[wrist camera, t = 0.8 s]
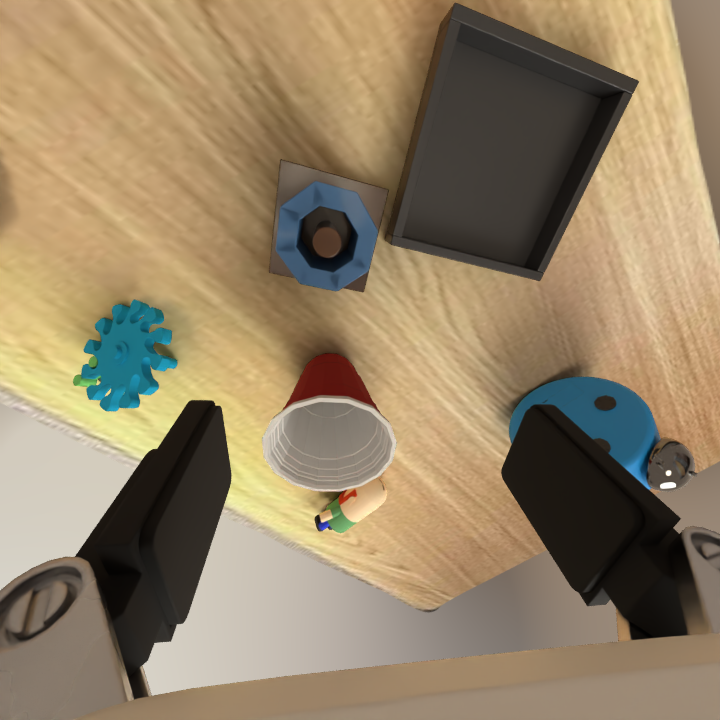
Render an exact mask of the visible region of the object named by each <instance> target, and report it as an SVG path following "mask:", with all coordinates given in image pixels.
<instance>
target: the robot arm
mask: <svg viewBox="0 0 720 720" xmlns="http://www.w3.org/2000/svg"><path fill="white" fill-rule="evenodd" d="M501 473H502V478H503V480H504V482H505V483H506V485H507V487H508V488H509V490H510V491H511V493H512V494H513V496H514V498H515V499H516V501H517V502H518V504H519V505H520V507H521V509H522V510H523V512H524V513H525V515H526V516H527V518H528V520H529V521H530V523H531V524H532V526H533V528H534V529H535V531H536V532H537V534H538V535H539V537H540V539H541V540H542V542H543V543H544V545H545V546H546V548H547V550H548V551H549V552H550V554H551V556H552V557H553V559H554V560H555V562H556V564H557V565H558V567H559V568H560V570H561V572H562V573H563V575H564V576H565V578H566V579H567V581H568V582H569V584H570V586H571V587H572V588H573V589H574V590H575V591H577V592H579V594H580V595H581V597H582V599H583V600H584V602H585V603H586V605H587V606H594V605H605V604H607V603H608V601H609V600H610V599H611V601H612V602H613V603H614V605H615V606H616V616H617V629H618V642H609V643H599V644H588V645H578V646H568V647H558V648H548V649H539V650H528V651H518V652H509V653H499V654H489V655H479V656H470V657H461V658H451V659H441V660H431V661H421V662H412V663H403V664H394V665H385V666H375V667H366V668H357V669H348V670H339V671H330V672H321V673H311V674H302V675H292V676H284V677H276V678H268V679H261V680H253V681H245V682H237V683H230V684H222V685H215V686H207V687H200V688H191V689H186V690H181V691H176V692H170V693H165V694H159V695H154V696H152V695H151V692H150V689H149V685H148V682H147V679H146V676H145V672H144V669H143V666H142V665H143V664H144V663H145V662H147V661H148V658H149V656H150V653H151V650H152V648H153V645H154V643H157V642H169V641H171V640H172V637H173V634H174V631H175V628H176V625H177V624H182V623H184V621H185V620H186V618H187V615H188V613H189V610H190V607H191V604H192V601H193V598H194V595H195V592H196V588H197V586H198V583H199V580H200V576H201V573H202V570H203V567H204V564H205V561H206V558H207V555H208V552H209V549H210V546H211V543H212V540H213V537H214V534H215V531H216V528H217V525H218V522H219V519H220V515H221V512H222V509H223V506H224V503H225V500H226V497H227V494H228V491H229V488H230V484H231V468H230V461H229V454H228V448H227V441H226V434H225V427H224V421H223V414H222V408H221V406H215V403H214V401H208V400H191V401H189V402H188V404H187V405H186V407H185V408H184V410H183V411H182V413H181V414H180V416H179V417H178V419H177V420H176V422H175V423H174V425H173V426H172V428H171V429H170V431H169V432H168V434H167V435H166V437H165V438H164V440H163V441H162V443H161V444H160V446H159V447H158V449H153V450H151V451H149V452H148V453H147V454H146V455H145V457H144V458H143V460H142V461H141V462H140V464H139V465H138V467H137V468H136V470H135V471H134V473H133V474H132V475H131V477H130V478H129V480H128V481H127V483H126V484H125V485H124V487H123V488H122V490H121V491H120V493H119V494H118V496H117V497H116V499H115V500H114V502H113V503H112V504H111V506H110V507H109V508H108V510H107V511H106V513H105V514H104V516H103V517H102V519H101V520H100V522H99V523H98V524H97V526H96V527H95V529H94V530H93V531H92V533H91V534H90V536H89V537H88V539H87V540H86V542H85V543H84V544H83V546H82V547H81V549H80V550H79V552H78V553H77V554H76V556H75V557H63V558H58V559H54V560H50V561H47V562H45V563H43V564H40V565H38V566H36V567H34V568H31V569H30V570H28V571H27V572H25V573H23V574H22V575H20V576H18V577H17V578H15V579H14V580H13V581H11V582H10V583H9V584H8V585H6V586H5V587H4V588H3V589H1V590H0V720H720V534H718V533H716V532H714V531H711V530H708V529H705V528H702V527H695V526H690V527H686V528H685V529H684V530H683V531H682V532H681V533H680V534H679V533H678V532H677V531H676V530H675V529H673V527H674V526H675V525H676V524H677V523H678V522H679V520H680V517H679V516H677V515H676V514H675V513H674V512H673V511H672V510H671V509H670V508H669V507H667V506H666V505H665V504H664V503H663V502H662V501H661V500H660V499H658V498H657V497H656V496H655V495H654V494H653V493H652V492H651V491H650V490H649V489H647V488H646V487H645V486H644V485H643V484H642V483H641V482H640V481H639V480H637V479H636V478H635V477H634V476H633V475H632V474H631V473H630V472H629V471H627V470H626V469H625V468H624V467H623V466H622V465H621V464H620V463H619V462H617V461H616V460H615V459H614V458H613V457H612V456H611V455H610V454H609V453H607V452H606V451H605V450H604V449H603V448H602V447H601V446H600V445H599V444H597V443H596V442H595V441H594V440H593V439H592V438H591V437H590V436H589V435H587V434H586V433H585V432H584V431H583V430H582V429H581V428H580V427H579V426H577V425H576V424H575V423H574V422H573V421H572V420H571V419H570V418H569V417H567V416H566V415H565V414H564V413H563V412H562V411H561V410H560V409H559V408H557V407H556V406H555V405H551V404H534V405H532V406H531V407H530V408H529V409H528V410H526V412H525V414H524V416H523V419H522V421H521V423H520V426H519V428H518V431H517V433H516V436H515V438H514V440H513V443H512V445H511V448H510V450H509V453H508V455H507V457H506V460H505V462H504V465H503V467H502V472H501Z"/></svg>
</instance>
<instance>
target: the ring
mask: <svg viewBox="0 0 720 720" xmlns="http://www.w3.org/2000/svg"><path fill="white" fill-rule="evenodd" d="M319 206H322V207H326V208H330V209H334V210H338V211H342V212H343V214H344V215H345V217H346V219H347V221H348V222H349V224H350V226H351V228H352V231H351V235H350V240H349V245H348V249H347V250H345V251H344V252H342V253H341V254H339V255H338V256H336V257H335V258H333V259H328V258H323V257H319V256H314V255H312V253H311V252H310V250H309V249H308V247H307V246H306V244H305V243H304V241H303V240H302V238H301V234H302V227H303V220H304V217H305V216H307V215H308V214H310V213H311V212H312V211H314V210H315V209H317V208H318V207H319ZM377 235H378V230H377V228H376V226H375V224H374V222H373V220H372V218H371V217H370V215H369V213H368V211H367V209H366V207H365V206H364V204H363V202H362V200H361V198H360V196H359V194H358V193H357V192H354V191H351V190H347V189H343V188H340V187H336V186H332V185H329V184H325V183H321V182H318V181H315V182H313V183H311V184H310V185H309V186H307V187H306V188H305V189H303V190H302V191H301V192H299V193H298V194H296V195H295V196H294V197H292V198H291V199H290V200H288V201H287V202H286V203H284V204H283V205H281V207H280V212H279V221H278V231H277V240H276V252H277V253H278V254H279V256H280V257H281V259H282V260H283V261H284V263H285V264H286V265H287V267H288V268H289V270H290V271H291V272H292V274H293V275H294V276H295V278H296V279H297V281H298V282H299V283H300V284H303V285H308V286H313V287H318V288H323V289H328V290H332V291H339V290H340V289H342V288H343V287H345V286H346V285H348V284H349V283H351V282H352V281H354V280H356V279H357V278H359V277H360V276H362V275H363V274H365V273H366V272H368V270H369V267H370V263H371V259H372V255H373V251H374V247H375V243H376V239H377Z"/></svg>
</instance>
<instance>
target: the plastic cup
mask: <svg viewBox="0 0 720 720" xmlns="http://www.w3.org/2000/svg"><path fill="white" fill-rule="evenodd" d="M262 444H263V455H264V458H265V460H266V461H267V463H268V464H269V465H270V467H271V468H272V470H273V471H274V473H275V474H277V475H278V476H280V477H282V478H283V479H285V480H286V481H288V482H289V483H291V484H292V485H295V486H299V487H302V488H306V489H310V490H313V491H338V492H339V491H343V490H347V489H352V488H356V487H360V486H363V485H364V484H366V483H368V482H370V481H372V480H373V479H375V478H377V477H379V476H380V475H381V474H382V473H383V472H384V470H385V469H386V468H387V467H388V466H389V465H390V463H391V462H392V461H393V457H394V453H395V449H396V444H397V442H396V439H395V436H394V433H393V430H392V427H391V424H390V423H389V421H388V420H387V419H386V418H385V417H384V416H383V415H382V414H381V413H380V411H379V410H378V409H377V407H376V404H375V403H374V402H373V401H372V399H371V397H370V395H369V393H368V391H367V389H366V387H365V385H364V383H363V381H362V379H361V377H360V376H359V375H358V374H357V372H356V370H355V368H354V366H353V365H352V364H351V363H350V362H349V361H348V360H347V359H346V358H345V357H343V356H340V355H338V354H332V353H325V354H322V355H319V356H316V357H315V358H314V359H312V360H311V361H310V362H309V363H308V364H307V365H306V367H305V369H304V371H303V373H302V375H301V377H300V379H299V381H298V383H297V385H296V387H295V389H294V391H293V393H292V395H291V397H290V399H289V401H288V402H287V404H286V406H285V407H284V408H283V410H282V411H281V412H280V413H278V414H277V415H276V416H274V417H273V419H272V420H271V422H270V424H269V426H268V428H267V430H266V432H265V434H264V435H263V437H262Z"/></svg>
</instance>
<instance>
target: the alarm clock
mask: <svg viewBox="0 0 720 720" xmlns="http://www.w3.org/2000/svg"><path fill="white" fill-rule="evenodd" d="M534 404H551V405H555V406H556V407H557V408H559V409H560V410H561V411H562V412H563V413H564V414H565V415H566V416H567V417H569V418H570V419H571V420H572V421H573V422H574V423H575V424H576V425H577V426H579V427H580V428H581V429H582V430H583V431H584V432H585V433H586V434H587V435H589V436H590V437H591V438H592V439H593V440H594V441H595V442H596V443H597V444H599V445H600V446H601V447H602V448H603V449H604V450H605V451H606V452H607V453H609V454H610V455H611V456H612V457H613V458H614V459H615V460H616V461H617V462H619V463H620V464H621V465H622V466H623V467H624V468H625V469H626V470H627V471H629V472H630V473H631V474H632V475H633V476H634V477H635V478H636V479H637V480H639V481H640V482H641V483H642V484H643V485H644V486H645V487H646V488H647V489H649V490H650V489H651V488H653V489H655V490H659V491H665V492H670V491H676V490H679V489H681V488H683V487H685V486H686V485H687V484H688V483H689V482H690V481H691V479H692V477H693V476H697V473H695V472H694V471H695V463H694V458H693V456H692V454H691V452H690V451H689V449H688V448H687V447H686V446H685V445H683V444H682V443H681V442H679V441H677V440H674V439H672V438H668V437H664V438H662V439H661V438H660V435H659V433H658V430H657V427H656V424H655V421H654V418H653V415H652V413H651V411H650V409H649V407H648V406H647V404H646V403H645V402H644V401H643V400H642V399H641V398H640V397H639V396H638V395H637V394H636V393H635V392H633V391H632V390H630V389H629V388H627V387H625V386H623V385H621V384H619V383H616V382H613V381H610V380H606V379H601V378H595V377H571V378H564V379H560V380H556V381H553V382H550V383H547V384H545V385H543V386H540V387H539V388H537V389H535V390H534V391H532V392H531V393H529V394H528V395H527V396H526V397H525V398H524V399H523V400H522V401H521V402H520V403H519V404H518V405H517V407H516V409H515V410H514V412H513V414H512V417H511V420H510V424H509V436H510V440H511V443H513V440H514V438H515V436H516V433H517V431H518V428H519V426H520V423H521V421H522V419H523V416H524V414H525V412H526V410H528V409H529V408H530V407H531V406H532V405H534Z"/></svg>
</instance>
